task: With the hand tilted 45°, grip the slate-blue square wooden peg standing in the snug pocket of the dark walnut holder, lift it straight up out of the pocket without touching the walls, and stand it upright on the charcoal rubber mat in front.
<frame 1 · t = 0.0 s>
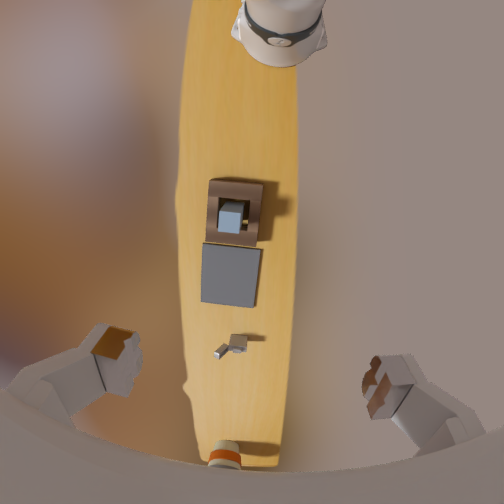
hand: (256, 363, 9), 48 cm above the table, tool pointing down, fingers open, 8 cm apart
rubber mat: (229, 276, 61), on the table
peg: (232, 216, 52), in the pocket holder
pocket holder: (234, 210, 56), on the table
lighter: (233, 336, 67), on the table
reusable coffee cup: (227, 444, 87), on the table
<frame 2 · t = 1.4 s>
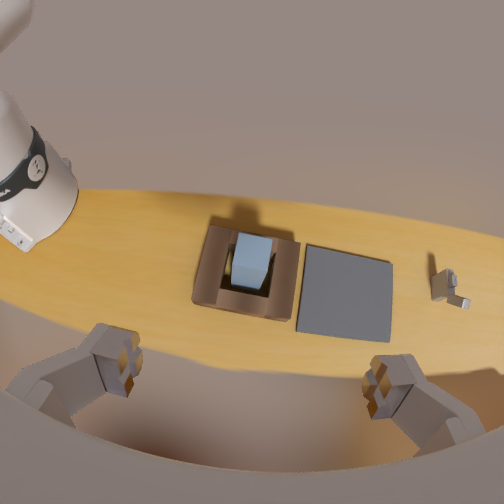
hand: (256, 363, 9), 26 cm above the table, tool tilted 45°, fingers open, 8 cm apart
rubber mat: (349, 295, 38), on the table
peg: (249, 265, 33), in the pocket holder
pocket holder: (246, 276, 37), on the table
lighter: (434, 298, 39), on the table
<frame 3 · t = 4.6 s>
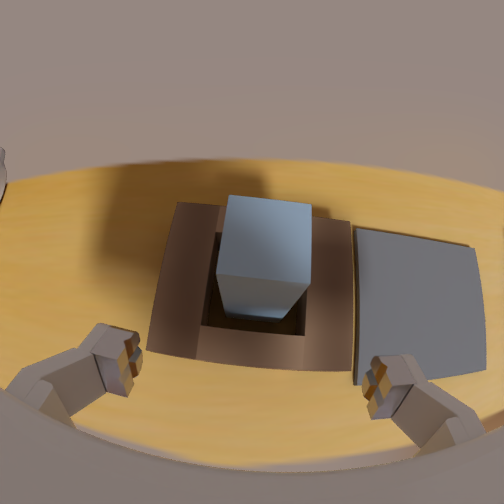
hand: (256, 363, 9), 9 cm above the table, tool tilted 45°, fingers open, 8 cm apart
rubber mat: (429, 307, 20), on the table
peg: (259, 273, 15), in the pocket holder
pocket holder: (255, 294, 20), on the table
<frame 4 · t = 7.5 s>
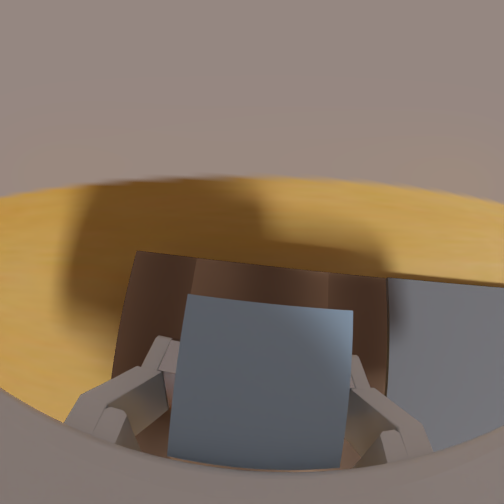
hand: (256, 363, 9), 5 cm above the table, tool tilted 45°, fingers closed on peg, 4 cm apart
rubber mat: (465, 371, 13), on the table
peg: (253, 380, 9), in the pocket holder, touching gripper
pocket holder: (249, 377, 13), on the table
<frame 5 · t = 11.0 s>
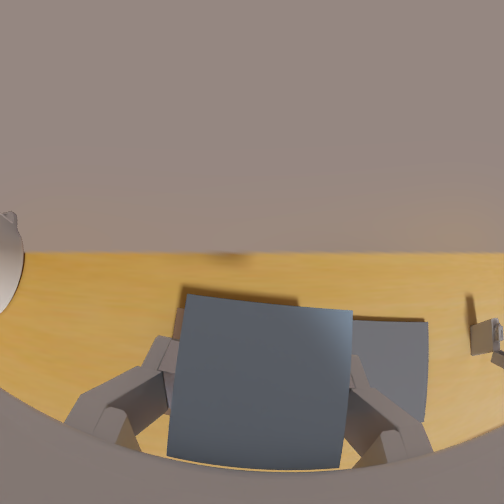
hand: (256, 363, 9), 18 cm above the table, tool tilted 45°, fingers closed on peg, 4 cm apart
rubber mat: (374, 376, 26), on the table
peg: (253, 380, 9), point 18 cm above the table, touching gripper
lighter: (473, 351, 27), on the table
when the fingers open (7 cm above the table, at t = 14.9 s): peg drops 1 cm, resting on rubber mat.
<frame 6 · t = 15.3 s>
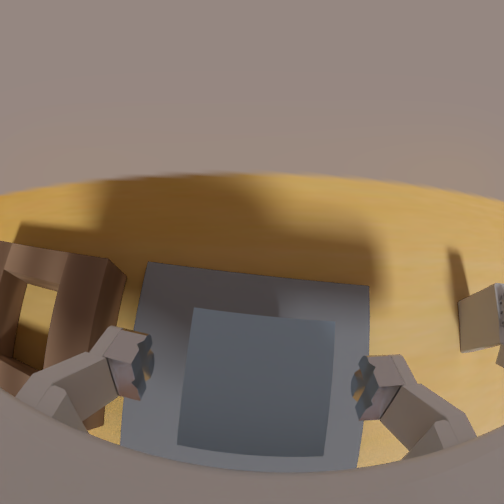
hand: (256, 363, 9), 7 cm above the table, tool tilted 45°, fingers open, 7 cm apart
rubber mat: (248, 376, 15), on the table
peg: (251, 380, 10), on the rubber mat, point 5 cm above the table
pocket holder: (43, 329, 15), on the table
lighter: (465, 345, 16), on the table
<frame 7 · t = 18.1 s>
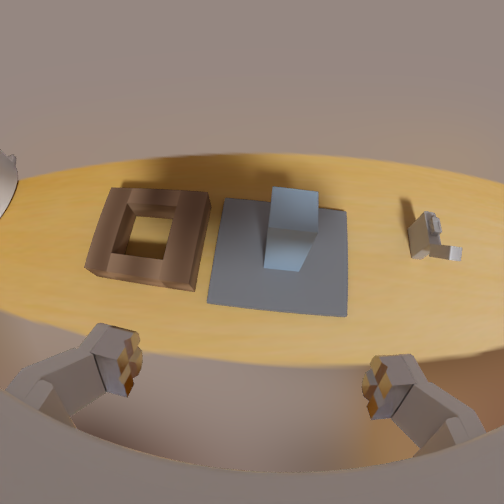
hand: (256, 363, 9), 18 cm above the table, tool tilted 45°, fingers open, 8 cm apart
rubber mat: (282, 255, 30), on the table
peg: (287, 234, 25), on the rubber mat, point 5 cm above the table
pocket holder: (152, 241, 30), on the table
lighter: (415, 255, 30), on the table
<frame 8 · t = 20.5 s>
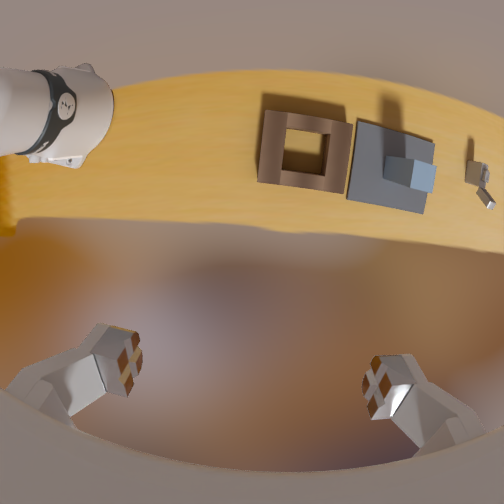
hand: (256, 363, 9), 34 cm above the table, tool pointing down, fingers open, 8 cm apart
rubber mat: (393, 169, 38), on the table
peg: (407, 172, 33), on the rubber mat, point 5 cm above the table
pocket holder: (303, 151, 38), on the table
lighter: (467, 179, 38), on the table
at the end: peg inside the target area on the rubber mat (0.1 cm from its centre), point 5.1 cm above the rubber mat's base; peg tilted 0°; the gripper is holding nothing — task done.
